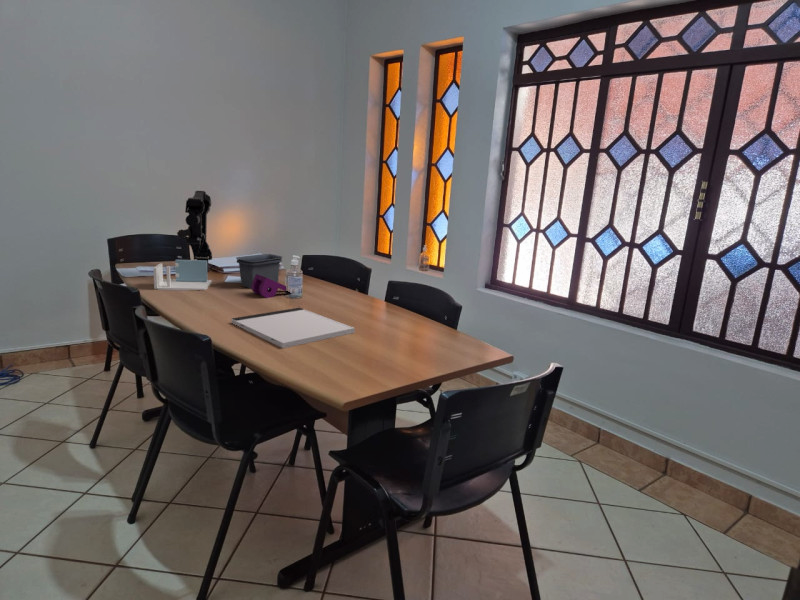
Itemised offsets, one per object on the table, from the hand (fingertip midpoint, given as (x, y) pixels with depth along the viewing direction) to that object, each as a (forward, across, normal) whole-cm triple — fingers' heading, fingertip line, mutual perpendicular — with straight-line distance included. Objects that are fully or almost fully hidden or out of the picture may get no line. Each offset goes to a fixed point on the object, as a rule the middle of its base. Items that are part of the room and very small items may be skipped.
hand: (196, 255), depth 267 cm
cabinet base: (+12, +18, -3) cm, 22 cm away
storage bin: (+12, +13, +31) cm, 36 cm away
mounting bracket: (+12, +32, +39) cm, 52 cm away
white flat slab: (+12, +86, +47) cm, 98 cm away
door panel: (+10, +14, 0) cm, 17 cm away
